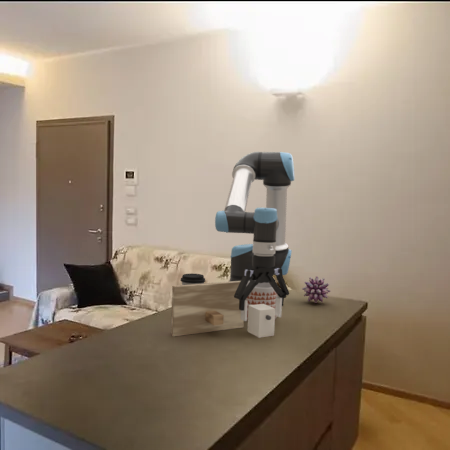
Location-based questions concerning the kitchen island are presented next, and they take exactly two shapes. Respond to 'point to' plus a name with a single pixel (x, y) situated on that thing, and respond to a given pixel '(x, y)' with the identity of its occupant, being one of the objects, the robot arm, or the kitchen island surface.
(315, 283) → the purple spiky ball
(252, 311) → the cabinet
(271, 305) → the planter
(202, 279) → the coffee cup
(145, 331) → the kitchen island surface
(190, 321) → the wooden board
